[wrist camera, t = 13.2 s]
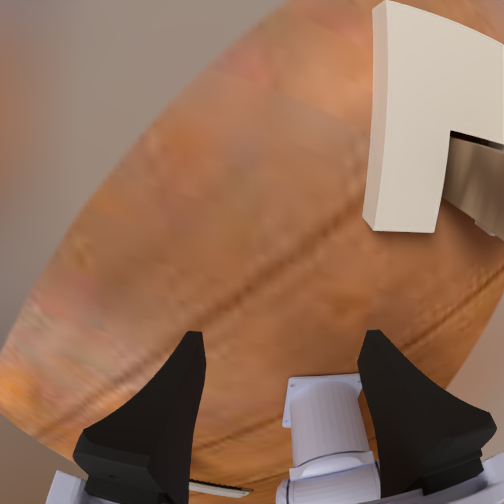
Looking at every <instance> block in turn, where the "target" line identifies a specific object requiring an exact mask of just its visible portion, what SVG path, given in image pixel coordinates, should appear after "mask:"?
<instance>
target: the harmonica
mask: <svg viewBox="0 0 504 504" xmlns="http://www.w3.org/2000/svg"><path fill="white" fill-rule="evenodd" d="M189 490H193V491H198V492H203V493H209V494H215V495H221V496H228V497H236V498H240V497H242V496H248V495H249V494H250V493H252V489H248V488H239V489H236V487H234V488H231V486H229V487H228V488H226V485H224V486H223V487H220V484H218V485H217V486H215V484H214V483H213V484H212V485H209V482H207V483H206V484H204V481H202V482H201V483H198V480H196V481H195V482H193V479H191V480H190V481H189Z"/></svg>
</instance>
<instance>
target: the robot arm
mask: <svg viewBox="0 0 504 504" xmlns="http://www.w3.org/2000/svg"><path fill="white" fill-rule="evenodd" d="M357 363H358V369H359V373H356V374H343V375H327V376H306V377H291V378H289V380H288V386H287V393H286V400H285V407H284V414H283V421H282V426H283V427H291V436H292V451H293V465H294V468H291V469H289V471H290V478H285V479H283V481H282V482H281V484H280V485H279V486H278V488H277V492H276V504H501V503H502V502H504V452H500V453H498V454H496V455H494V456H492V457H490V458H488V459H486V460H484V461H483V462H481V460H480V457H481V456H482V451H481V448H482V447H483V446H484V445H485V444H486V443H487V442H488V441H489V440H490V439H491V438H492V437H493V435H494V434H495V432H496V430H497V427H496V424H495V422H494V420H493V418H492V416H491V414H490V413H489V412H486V411H484V410H481V409H479V408H477V407H474V406H472V405H470V404H468V403H466V402H464V401H462V400H460V399H458V398H457V397H455V396H453V395H452V394H450V393H449V392H447V391H445V390H444V389H442V388H441V387H440V386H438V385H437V384H436V383H434V382H433V381H432V380H430V379H429V378H428V377H427V376H425V375H424V374H423V373H422V372H421V371H420V370H419V369H417V368H416V367H415V366H414V365H413V364H412V363H411V362H410V361H409V360H408V359H407V358H406V357H405V356H404V355H403V354H402V353H401V352H400V351H399V350H398V349H397V348H396V347H395V346H394V345H393V343H392V342H391V341H390V340H389V339H388V338H387V337H386V336H385V335H384V334H383V333H382V332H381V331H380V330H367V332H366V336H365V339H364V342H363V346H362V349H361V352H360V355H359V358H358V361H357ZM205 372H206V358H205V351H204V343H203V336H202V332H197V331H188V332H186V334H185V335H184V337H183V338H182V340H181V342H180V343H179V345H178V346H177V347H176V349H175V350H174V352H173V353H172V354H171V356H170V357H169V358H168V360H167V361H166V362H165V364H164V365H163V366H162V367H161V369H160V370H159V371H158V372H157V373H156V374H155V376H154V377H153V378H152V379H151V380H150V381H149V382H148V383H147V384H146V385H145V386H144V387H143V388H142V389H141V390H140V391H139V392H138V393H137V394H136V395H135V396H133V397H132V398H131V399H130V400H129V401H128V402H126V403H125V404H124V405H123V406H121V407H120V408H118V409H117V410H116V411H114V412H113V413H111V414H110V415H108V416H107V417H105V418H104V419H102V420H100V421H99V422H97V423H95V424H93V425H91V426H89V427H88V428H85V429H84V430H83V432H82V434H81V435H80V437H79V439H78V442H77V444H76V447H75V450H74V453H73V455H72V456H73V459H74V461H75V462H76V463H77V464H78V465H79V466H80V467H81V468H82V469H83V470H84V471H85V472H86V473H87V474H88V475H89V477H88V480H87V481H86V480H84V479H82V478H80V477H77V476H74V475H71V474H68V473H65V472H63V471H60V470H57V472H56V474H55V477H54V480H53V483H52V486H51V489H50V492H49V495H48V498H47V501H46V504H188V501H189V478H190V463H191V452H192V442H193V433H194V427H195V422H196V418H197V413H198V409H199V405H200V400H201V396H202V392H203V387H204V381H205ZM362 387H363V391H364V394H365V397H366V400H367V403H368V407H369V410H370V413H371V416H372V420H373V424H374V428H375V434H376V440H377V447H378V456H379V458H378V459H375V460H374V456H373V451H370V449H369V444H368V440H367V436H366V432H365V428H364V424H363V419H362V415H361V412H360V408H359V404H358V400H357V399H358V396H359V394H360V392H361V389H362Z"/></svg>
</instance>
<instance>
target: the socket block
mask: <svg viewBox="0 0 504 504" xmlns="http://www.w3.org/2000/svg"><path fill="white" fill-rule="evenodd" d="M372 19H373V100H372V121H371V136H370V149H369V161H368V171H367V181H366V190H365V198H364V206H363V214H362V217H363V218H364V220H365V221H366V222H367V223H368V224H369V226H370V227H371V228H372V229H373V231H399V232H424V233H434V230H435V226H436V221H437V217H438V212H439V207H440V201H441V196H442V190H443V184H444V178H445V172H446V165H447V157H448V149H449V140H450V130H452V131H456V132H460V133H464V134H468V135H472V136H476V137H480V138H483V139H487V140H489V144H488V146H489V147H492V148H495V149H498V150H501V151H504V44H502V43H500V42H498V41H496V40H494V39H492V38H490V37H488V36H486V35H484V34H482V33H479V32H477V31H475V30H473V29H471V28H468V27H466V26H464V25H461V24H459V23H456V22H454V21H451V20H449V19H446V18H444V17H441V16H438V15H435V14H433V13H430V12H427V11H424V10H421V9H417V8H414V7H411V6H408V5H404V4H401V3H397V2H393V1H389V0H384V1H383V2H382V3H380V4H379V5H377V6H376V7H375V8H373V9H372ZM474 224H476V225H477V226H478V227H480V228H481V229H482V230H484V231H485V232H486V233H488V234H489V235H490V236H496V235H495V234H494V233H492V232H491V231H490V230H488V229H487V228H486V227H484V226H483V225H482V224H480V223H479V222H477V221H476V220H475V222H474Z"/></svg>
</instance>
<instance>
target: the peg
mask: <svg viewBox="0 0 504 504" xmlns="http://www.w3.org/2000/svg"><path fill="white" fill-rule="evenodd" d="M441 197H442V198H444V199H445V200H447V201H448V202H450V203H451V204H453V205H454V206H456V207H457V208H459V209H460V210H462V211H463V212H465V213H466V214H468V215H469V216H470V217H472V218H473V219H475V220H476V221H477V222H479V223H480V224H482V225H483V226H484V227H486V228H487V229H488V230H490V231H491V232H492V233H494V234H495V235H496V236H498V237H499V238H500V239H501V240H503V241H504V151H501V150H498V149H495V148H492V147H489V146H486V145H483V144H480V143H476V142H472V141H468V140H464V139H460V138H455V137H451V136H450V140H449V149H448V157H447V165H446V172H445V178H444V184H443V190H442V196H441Z"/></svg>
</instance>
